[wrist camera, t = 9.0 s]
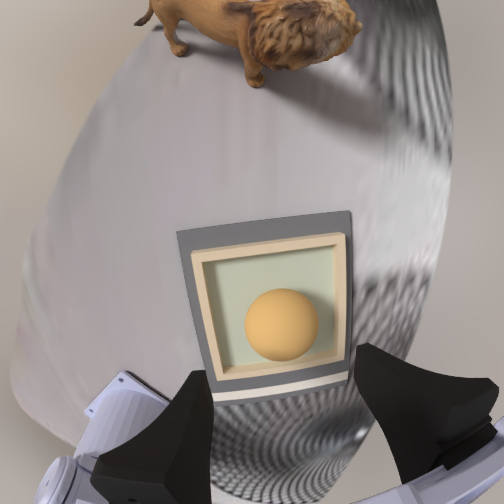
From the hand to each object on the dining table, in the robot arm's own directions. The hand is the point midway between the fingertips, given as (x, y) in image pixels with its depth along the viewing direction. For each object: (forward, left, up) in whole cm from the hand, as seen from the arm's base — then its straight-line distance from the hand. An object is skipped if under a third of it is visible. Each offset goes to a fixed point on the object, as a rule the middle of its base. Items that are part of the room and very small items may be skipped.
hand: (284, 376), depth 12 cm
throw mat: (0, -2, -8) cm, 9 cm away
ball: (0, -1, -6) cm, 6 cm away
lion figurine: (+12, +15, -9) cm, 21 cm away
